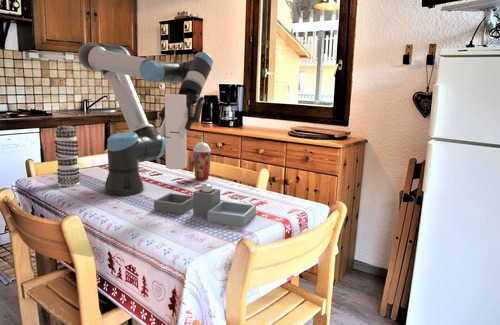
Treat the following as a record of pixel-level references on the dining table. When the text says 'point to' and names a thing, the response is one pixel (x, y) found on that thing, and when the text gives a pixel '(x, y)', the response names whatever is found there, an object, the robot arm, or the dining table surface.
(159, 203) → the dark grey square bin
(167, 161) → the white tall block
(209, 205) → the housing block
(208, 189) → the plunger
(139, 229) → the dining table surface
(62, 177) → the decorative candle
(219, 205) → the tray
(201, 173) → the smoothie
